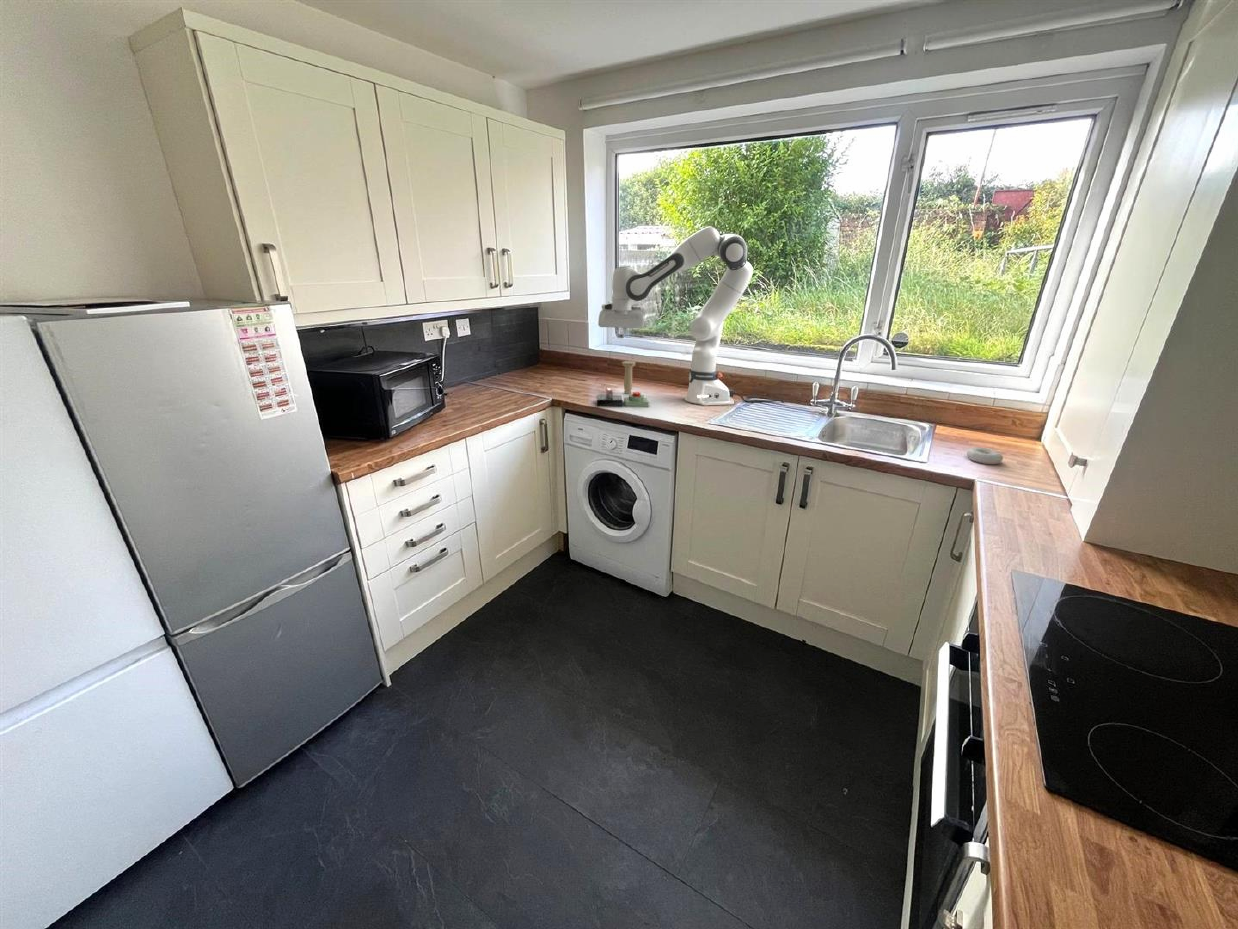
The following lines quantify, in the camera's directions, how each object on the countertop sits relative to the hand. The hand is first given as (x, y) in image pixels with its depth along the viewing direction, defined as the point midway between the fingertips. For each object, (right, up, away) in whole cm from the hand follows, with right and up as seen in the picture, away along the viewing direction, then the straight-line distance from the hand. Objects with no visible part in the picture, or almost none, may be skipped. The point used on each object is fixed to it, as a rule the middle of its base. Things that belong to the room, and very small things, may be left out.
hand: (620, 338), depth 223 cm
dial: (-5, -27, -4) cm, 28 cm away
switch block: (+7, -30, -2) cm, 31 cm away
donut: (+122, -56, -56) cm, 145 cm away
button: (+7, -27, -3) cm, 28 cm away
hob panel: (-5, -30, -3) cm, 30 cm away
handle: (+4, -23, +18) cm, 29 cm away
